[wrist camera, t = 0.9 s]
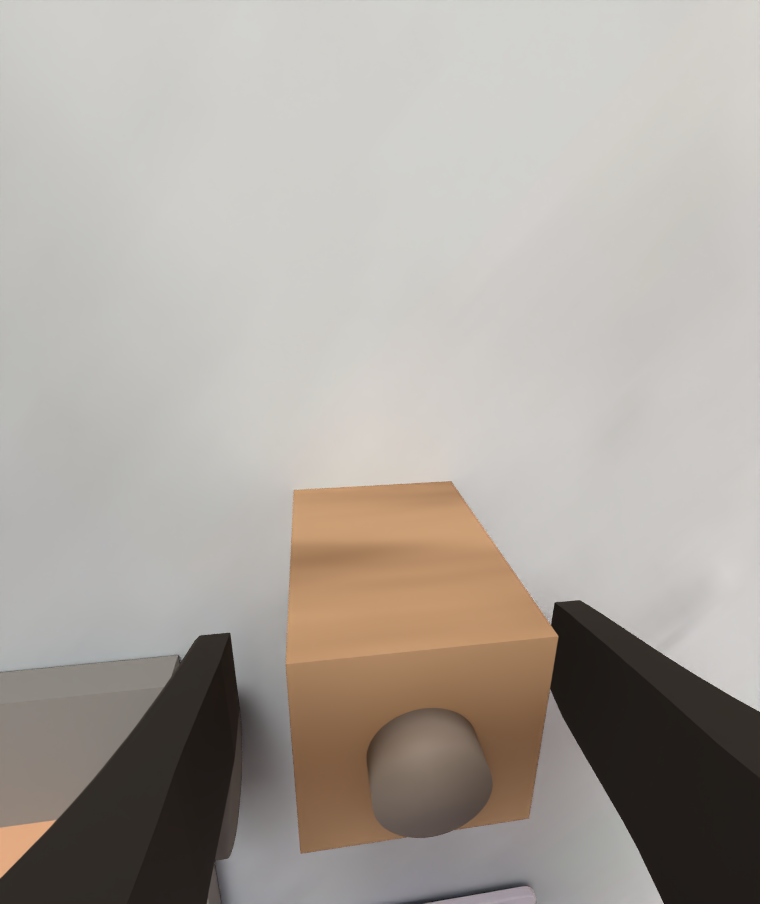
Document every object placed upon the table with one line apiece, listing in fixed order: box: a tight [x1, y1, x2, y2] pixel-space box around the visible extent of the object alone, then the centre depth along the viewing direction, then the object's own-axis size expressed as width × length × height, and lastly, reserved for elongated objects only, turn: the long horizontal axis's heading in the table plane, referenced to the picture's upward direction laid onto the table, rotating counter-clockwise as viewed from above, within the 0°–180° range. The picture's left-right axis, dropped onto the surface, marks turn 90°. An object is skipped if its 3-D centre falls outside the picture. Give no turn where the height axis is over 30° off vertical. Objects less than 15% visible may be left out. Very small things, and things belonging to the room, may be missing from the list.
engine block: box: [286, 481, 558, 854], centre depth 11 cm, size 4×4×7 cm
